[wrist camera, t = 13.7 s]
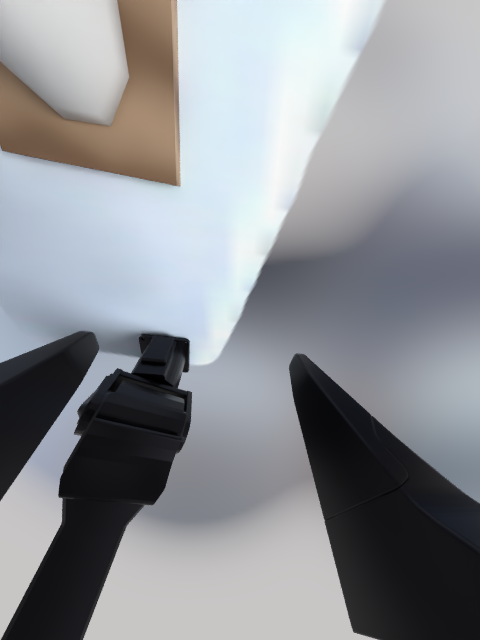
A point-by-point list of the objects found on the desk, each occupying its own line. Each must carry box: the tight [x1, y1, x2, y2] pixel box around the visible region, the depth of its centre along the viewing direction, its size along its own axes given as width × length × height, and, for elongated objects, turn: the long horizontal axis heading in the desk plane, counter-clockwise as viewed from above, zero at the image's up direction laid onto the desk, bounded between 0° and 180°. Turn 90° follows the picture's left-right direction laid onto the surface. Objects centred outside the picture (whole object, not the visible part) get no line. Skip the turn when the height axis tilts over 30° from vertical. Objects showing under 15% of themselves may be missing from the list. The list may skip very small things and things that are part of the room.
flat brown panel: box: [0, 0, 180, 186], centre depth 11 cm, size 12×12×2 cm
